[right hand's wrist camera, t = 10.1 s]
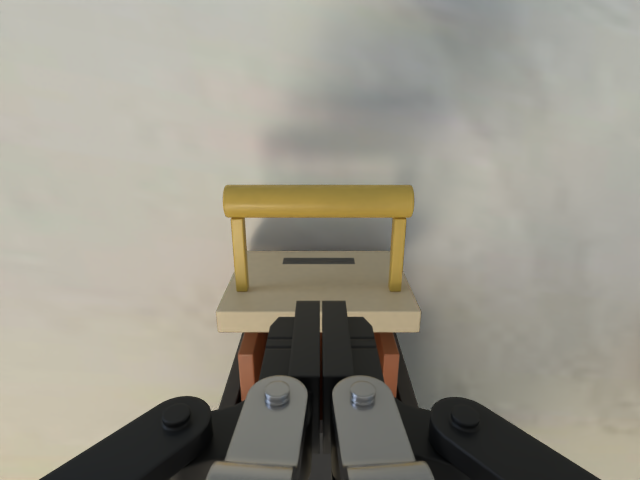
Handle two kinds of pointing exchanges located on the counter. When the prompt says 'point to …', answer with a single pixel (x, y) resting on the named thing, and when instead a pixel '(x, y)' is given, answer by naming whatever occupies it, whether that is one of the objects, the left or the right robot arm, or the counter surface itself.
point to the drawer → (317, 270)
